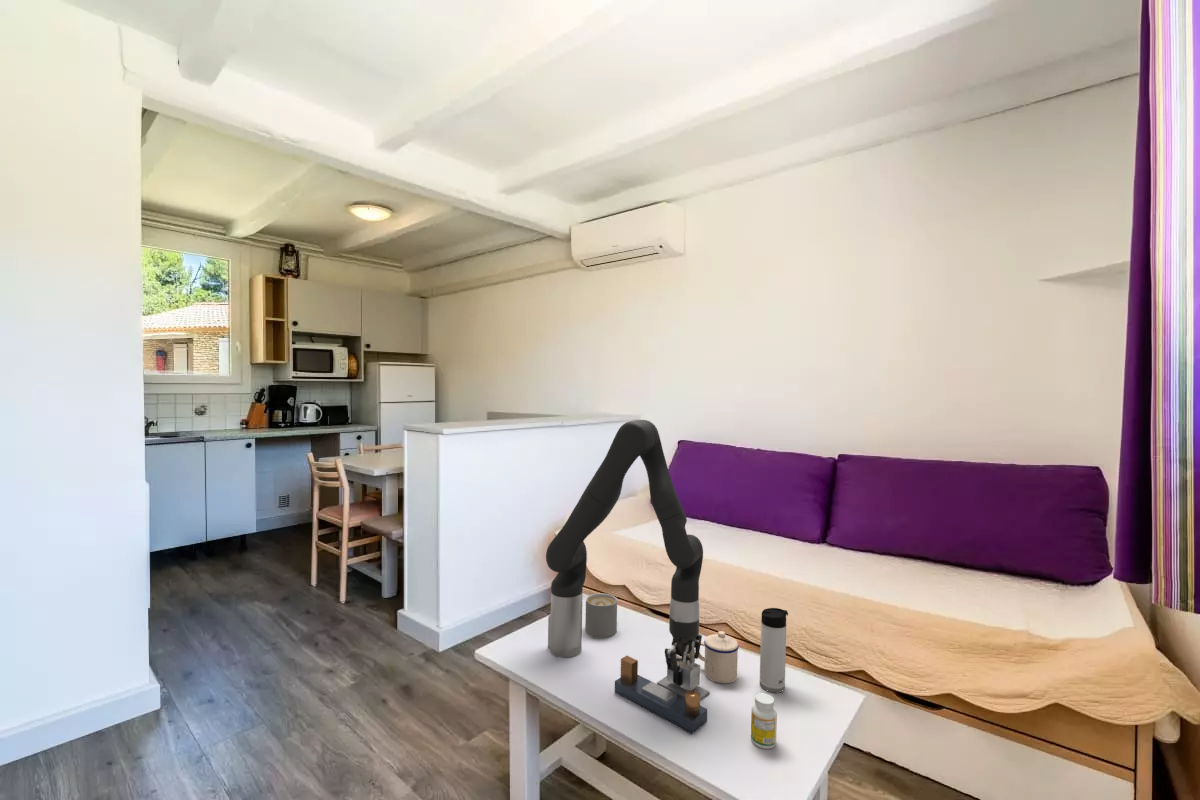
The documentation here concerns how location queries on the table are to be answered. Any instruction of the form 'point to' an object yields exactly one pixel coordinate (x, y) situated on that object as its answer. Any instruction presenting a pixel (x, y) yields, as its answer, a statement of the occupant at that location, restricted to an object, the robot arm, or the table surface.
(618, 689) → the hand plane
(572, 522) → the robot arm
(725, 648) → the teacup with lid
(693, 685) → the lever cap
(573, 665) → the table surface
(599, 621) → the coffee mug
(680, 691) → the rubber mat
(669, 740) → the table surface
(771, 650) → the travel mug
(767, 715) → the supplement bottle
